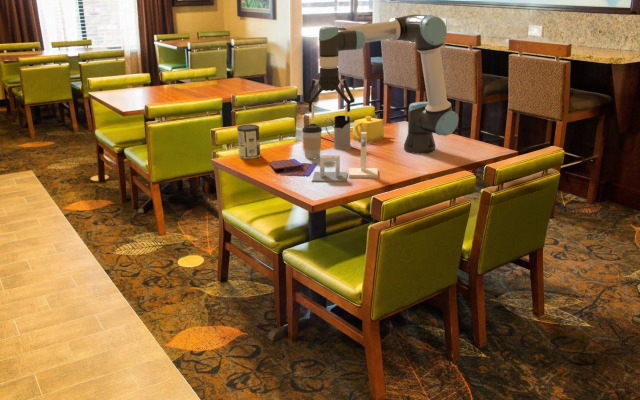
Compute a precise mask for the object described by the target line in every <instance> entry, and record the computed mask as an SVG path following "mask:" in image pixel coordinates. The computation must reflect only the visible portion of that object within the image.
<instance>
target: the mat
mask: <svg viewBox="0 0 640 400" xmlns="http://www.w3.org/2000/svg"><path fill="white" fill-rule="evenodd" d="M347 178H348V172H347V171H340V177H339V178H337V177H336V171H325V176H324V177H320V171H314V173H313V177H312V183H347Z"/></svg>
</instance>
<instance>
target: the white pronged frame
mask: <svg viewBox="0 0 640 400" xmlns="http://www.w3.org/2000/svg"><path fill="white" fill-rule="evenodd" d="M340 159H341V156H340V155H337V154H335V155H333V154H332V155H331V154H329V155H324V154H320V157H319V168H320V169H319V172H320V177H324V176H325V172H326V170H325V168H326V166H325V162H335V172H336V177H337V178H339V177H340V172H341V170H340V169H341V167H340V166H341V165H340V164H341V160H340Z"/></svg>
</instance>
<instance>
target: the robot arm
mask: <svg viewBox="0 0 640 400" xmlns="http://www.w3.org/2000/svg"><path fill="white" fill-rule="evenodd" d="M318 33H319V34H318V35H319V36H318V43H319V50H318V52H319V56H318V57H319V67H320V68H319V79H315V78H313V79H312V80H311V86H310V87H309V90H308V92H307V93H306V94H307V95H306V96H305V98H304V101H303V102H304V103H306V104H308V112H309V113H311V121H315V103H314V101H315V100H316V99H317V98H318V96H319V95H320V94H321V93H322V92H323V90H324V91H326V92H329V91H330V92H334V91H335V92H336V93H337V94H338V95H339V96H340V97H341V98H342V99H343V100H344V102H345V105H344V108H345V110H344V113H345V114H344V116H345V120H347V116H348V113H350V111H351V104H354V103H355V98H354V96H353V94H352V91H351V89H350V87H349V86H348V84H347V83H348V82H347V78H344V79H340V78H339V76H340V75H339V67H338V66H339V65H340V64H339V61H340V60H339V57H340V56H339V55H340V54H339V52H342V51H356V50H360V49H361V50H362V49H363V48H364V47H365V43H373V42H380V41H386V40H391V41H393V42H396V41H402V42H403V41H404V42H410V43H414V45H415V51H417V52H418V53H419V54H420V59H421V65H422V73H423V78H424V79H423V80H424V85H425V91H426V92H425V93H426V99H427V101H418V102H417V101H416V102H412V103H410V104H409V106H408V115H407V116H408V117H407V118H408V120H407V122H408V123H407V136H406V139H405V141H404V144H403V150H404V151H405V152H407V153H411V154H430V153H431V154H432V153H434V152H436V141H435V140H434V136H433V134H437V136H444V137H445V136H446V137H447V136H450V135H451V134H453V132H455V130H456V128H457V127H458V124H459V116H458V113H457V112H455V111H453V108H452V103H451V102H450V101H448V97H447V90H446V83H445V76H444V70H443V69H444V68H443V61H442V60H443V59H442V54H441V53H442V52H441V49H442V47H443V45H444V41H445V40H446V37H447V33H448V29H447V25H446V23H445V21H444V20H443V19H442V18H441V17H439V16H437V15H429V14H428V15H427V14H408V15H404V16H403V15H402V16H399V17H393V18H390V19H389V20H388V21H382V22H380V21H379V22H374V23H367V24H358V25H351V26H344V27H343V26H342V27H337V26H321V27H320V28H319V32H318ZM318 84H319V86H320V87H319V88H318V90H317V91H316V92H315V94H314V95H313V96H312V97H311V94H312V93H313V90H314V89H315V86H317V85H318ZM340 84H341V85H342V86H343V87H344V89H345V92H346V93H347V95H348V97H349V98H348V97H347V96H346V94H345V93H344V92H343V91H342V90H341V88H340V87H339V85H340ZM310 97H311V98H310Z"/></svg>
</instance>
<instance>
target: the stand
mask: <svg viewBox="0 0 640 400" xmlns="http://www.w3.org/2000/svg"><path fill="white" fill-rule="evenodd" d="M367 144H368V142H367V132H361V141H360V167H349V171H348V178H351V179H353V178H354V179H356V178H361V179H364V178H365V179H368V178H369V179H378V177H379V173H378V172H379V171H378V167H367Z"/></svg>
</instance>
